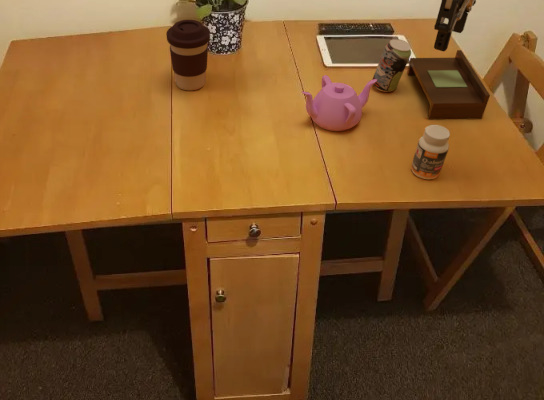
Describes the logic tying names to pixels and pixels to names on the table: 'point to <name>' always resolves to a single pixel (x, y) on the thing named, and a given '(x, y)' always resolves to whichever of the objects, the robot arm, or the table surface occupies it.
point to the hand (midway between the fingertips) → (448, 40)
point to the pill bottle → (431, 152)
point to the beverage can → (392, 65)
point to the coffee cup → (189, 53)
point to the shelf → (450, 87)
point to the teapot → (337, 105)
